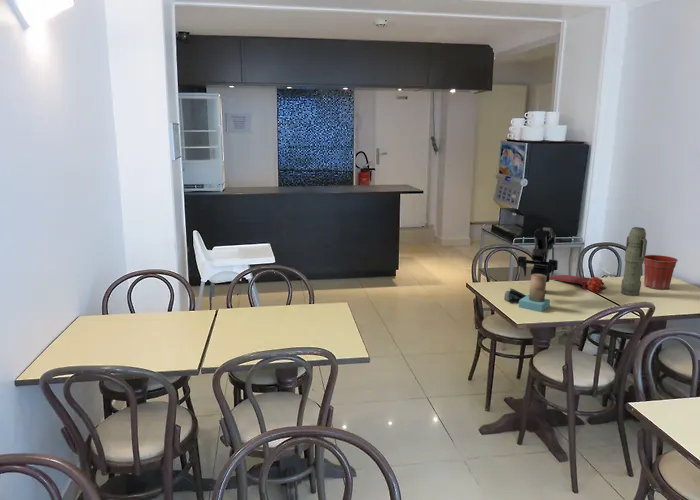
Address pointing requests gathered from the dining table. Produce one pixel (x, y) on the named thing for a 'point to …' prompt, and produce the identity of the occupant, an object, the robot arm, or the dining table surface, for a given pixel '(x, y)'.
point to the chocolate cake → (513, 296)
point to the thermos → (634, 261)
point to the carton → (572, 280)
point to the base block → (533, 304)
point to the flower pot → (658, 271)
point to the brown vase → (537, 287)
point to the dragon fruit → (596, 285)
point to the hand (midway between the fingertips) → (534, 277)
